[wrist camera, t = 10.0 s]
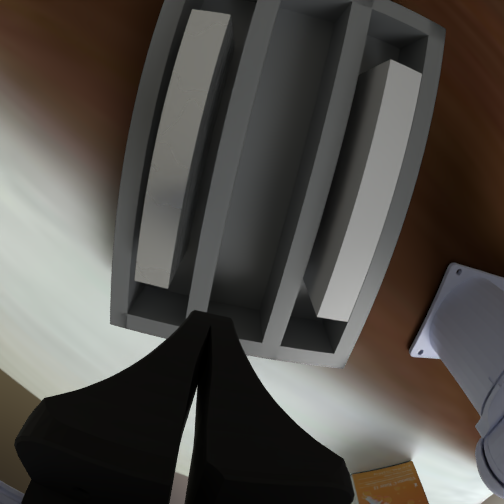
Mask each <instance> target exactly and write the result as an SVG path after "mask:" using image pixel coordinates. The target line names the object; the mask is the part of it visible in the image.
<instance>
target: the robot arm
mask: <svg viewBox="0 0 504 504" xmlns="http://www.w3.org/2000/svg"><path fill="white" fill-rule="evenodd" d="M458 269H459V271H458V272H457V270H458ZM420 350H421V351H420ZM419 351H420V352H419ZM409 354H410V355H411V356H412V357H423V358H437V359H441V360H442V361H443V363H444V364H445V366H446V367H447V368H448V370H449V371H450V372H451V374H452V375H453V377H454V378H455V379H456V381H457V382H458V384H459V385H460V387H461V388H462V389H463V391H464V392H465V394H466V395H467V397H468V398H469V400H470V401H471V403H472V404H473V406H474V407H475V409H476V410H477V412H478V413H479V415H480V416H481V419H480V420H479V422H478V423H477V424H476V426H475V427H476V428H477V430H478V432H479V433H480V435H481V438H480V439H479V441H478V443H477V446H476V451H475V455H476V462H477V468H478V472H479V474H480V477H481V479H482V480H483V482H484V483H485V485H486V486H487V487H488V488H489V490H491V491H492V492H493V493H494V494H495V495H497V496H499V497H501V498H503V499H504V278H503V277H500V276H497V275H494V274H490V273H487V272H484V271H481V270H477V269H474V268H471V267H467V266H464V265H461V264H457V263H451V264H450V265H449V266H448V268H447V270H446V272H445V275H444V277H443V280H442V282H441V284H440V287H439V289H438V291H437V294H436V296H435V298H434V300H433V303H432V305H431V307H430V309H429V311H428V313H427V316H426V318H425V320H424V322H423V324H422V326H421V328H420V330H419V332H418V334H417V336H416V338H415V340H414V342H413V343H412V345H411V347H410V349H409ZM197 385H198V388H197ZM196 388H197V402H196V418H195V436H194V446H193V453H192V459H191V466H190V472H189V478H188V485H187V491H186V498H185V504H351V503H352V502H353V500H354V496H355V493H354V489H353V485H352V481H351V478H350V474H349V472H348V469H347V467H346V464H345V461H344V459H343V458H341V457H340V456H338V455H337V454H335V453H334V452H332V451H331V450H329V449H328V448H326V447H325V446H324V445H322V444H321V443H319V442H318V441H316V440H315V439H314V438H313V437H311V436H310V435H309V434H308V433H307V432H305V431H304V430H303V429H302V428H301V427H300V426H299V425H297V424H296V423H295V422H294V421H293V420H292V419H291V418H290V417H289V416H288V415H287V414H286V413H285V411H284V410H283V409H282V408H281V407H280V406H279V405H278V404H277V403H276V402H275V400H274V399H273V398H272V397H271V395H270V394H269V393H268V391H267V390H266V389H265V387H264V386H263V384H262V383H261V381H260V380H259V378H258V376H257V375H256V373H255V371H254V370H253V368H252V366H251V364H250V362H249V360H248V358H247V356H246V354H245V352H244V350H243V348H242V346H241V343H240V341H239V338H238V336H237V333H236V330H235V327H234V323H233V320H232V319H231V318H229V317H224V316H220V315H215V314H211V313H207V312H202V311H198V310H194V311H192V312H191V313H190V314H189V316H188V317H187V318H186V320H185V321H184V322H183V323H182V324H181V325H180V326H179V328H178V329H177V330H176V331H175V332H174V333H173V334H171V335H170V336H169V337H168V338H167V339H166V340H165V341H164V342H163V343H162V344H160V345H159V346H158V347H157V348H156V349H154V350H153V351H152V352H151V353H149V354H148V355H147V356H145V357H144V358H142V359H141V360H139V361H138V362H136V363H135V364H133V365H132V366H130V367H128V368H126V369H125V370H123V371H121V372H119V373H117V374H115V375H113V376H111V377H109V378H107V379H105V380H103V381H100V382H98V383H95V384H93V385H90V386H88V387H85V388H82V389H79V390H76V391H72V392H68V393H64V394H60V395H56V396H52V397H46V398H44V399H43V400H42V401H41V403H40V404H39V405H38V406H37V407H36V408H35V409H34V411H33V412H32V413H31V415H30V416H29V417H28V419H27V420H26V422H25V424H24V425H23V427H22V429H21V430H20V432H19V434H18V436H17V437H16V439H15V444H14V446H15V449H16V451H17V454H18V457H19V458H20V460H21V462H22V464H23V466H24V467H25V469H26V471H27V472H28V474H29V476H30V477H31V479H32V480H31V482H30V484H29V486H28V488H27V490H26V493H25V494H23V493H21V492H19V491H18V490H16V489H14V488H12V487H10V486H9V485H7V484H5V483H4V482H2V481H0V504H169V502H170V496H171V490H172V485H173V479H174V473H175V468H176V462H177V457H178V452H179V446H180V442H181V438H182V434H183V431H184V427H185V424H186V421H187V418H188V414H189V411H190V408H191V405H192V401H193V398H194V395H195V392H196Z"/></svg>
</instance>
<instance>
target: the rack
mask: <svg viewBox="0 0 504 504" xmlns="http://www.w3.org/2000/svg"><path fill="white" fill-rule="evenodd" d="M192 9H195V10H203V11H210V12H217V13H224V14H230V15H231V20H232V27H233V34H234V41H235V49H234V53H233V56H232V60H231V63H230V67H229V70H228V74H227V78H226V81H225V85H224V89H223V92H222V96H221V100H220V104H219V108H218V111H217V115H216V119H215V123H214V127H213V131H212V136H211V140H210V144H209V148H208V152H207V157H206V161H205V165H204V170H203V174H202V179H201V183H200V188H199V193H198V197H197V202H196V207H195V212H194V217H193V222H192V227H191V232H190V237H189V242H188V247H187V251H186V253H185V255H184V257H183V259H182V261H181V263H180V265H179V267H178V269H177V271H176V273H175V275H174V277H173V280H172V282H171V284H170V286H169V288H168V289H167V288H163V287H159V286H154V285H150V284H146V283H143V282H139V281H135V270H136V261H137V252H138V244H139V236H140V229H141V222H142V215H143V208H144V202H145V196H146V190H147V184H148V179H149V173H150V168H151V162H152V157H153V152H154V147H155V143H156V138H157V133H158V129H159V124H160V120H161V116H162V111H163V107H164V103H165V99H166V95H167V91H168V87H169V84H170V80H171V76H172V73H173V69H174V65H175V62H176V58H177V55H178V52H179V48H180V45H181V42H182V39H183V35H184V32H185V29H186V26H187V23H188V20H189V17H190V14H191V11H192ZM445 32H446V29H445V28H443V27H441V26H440V25H438V24H436V23H434V22H433V21H431V20H429V19H427V18H425V17H423V16H421V15H419V14H417V13H415V12H413V11H411V10H409V9H407V8H405V7H403V6H401V5H399V4H397V3H394V2H392V1H390V0H164V3H163V6H162V9H161V12H160V15H159V18H158V21H157V24H156V27H155V30H154V33H153V37H152V40H151V43H150V47H149V50H148V54H147V57H146V61H145V64H144V68H143V72H142V76H141V80H140V84H139V88H138V92H137V96H136V101H135V105H134V110H133V114H132V119H131V124H130V129H129V134H128V140H127V145H126V151H125V157H124V163H123V169H122V176H121V183H120V190H119V197H118V206H117V214H116V224H115V234H114V246H113V260H112V277H111V305H110V324H112V325H115V326H119V327H122V328H126V329H130V330H134V331H138V332H141V333H145V334H149V335H153V336H157V337H161V338H166V339H167V338H168V337H169V336H170V335H171V334H173V333H174V332H175V331H176V330H177V329H178V328H179V326H180V325H181V324H182V323H183V322H184V321H185V320H186V318H187V317H188V316H189V314H190V313H191V312H192V311H194V310H198V311H202V312H207V313H211V314H215V315H220V316H224V317H229V318H231V319H232V320H233V323H234V327H235V330H236V333H237V336H238V338H239V341H240V343H241V346H242V348H243V350H244V352H245V354H246V355H248V356H254V357H260V358H266V359H273V360H279V361H286V362H293V363H300V364H308V365H316V366H324V367H333V368H342V369H343V368H344V366H345V364H346V362H347V360H348V358H349V356H350V354H351V352H352V350H353V348H354V345H355V343H356V341H357V339H358V337H359V335H360V332H361V330H362V328H363V326H364V324H365V321H366V319H367V317H368V314H369V312H370V310H371V307H372V305H373V303H374V300H375V298H376V295H377V293H378V290H379V288H380V285H381V283H382V280H383V278H384V275H385V273H386V270H387V267H388V265H389V262H390V259H391V257H392V254H393V251H394V248H395V246H396V243H397V240H398V237H399V234H400V231H401V228H402V225H403V222H404V219H405V216H406V213H407V210H408V207H409V203H410V200H411V197H412V193H413V190H414V187H415V183H416V180H417V176H418V172H419V169H420V165H421V161H422V157H423V153H424V149H425V145H426V141H427V137H428V133H429V128H430V124H431V119H432V115H433V110H434V105H435V99H436V94H437V89H438V83H439V77H440V71H441V64H442V57H443V49H444V41H445Z"/></svg>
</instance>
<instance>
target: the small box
mask: <svg viewBox="0 0 504 504" xmlns="http://www.w3.org/2000/svg"><path fill="white" fill-rule="evenodd" d="M350 478H351V481H352V485H353V489H354V493H355V496H354V500H353V502H352V503H351V504H429V503H428V500H427V497H426V495H425V492H424V489H423V487H422V484H421V482H420V479H419V477H418V474H417V471H416V469H415V466H414V464H413V462H412V461H410V462H407V463H403V464H400V465H396V466H391V467H387V468H383V469H378V470H374V471H368V472H363V473H355V474H351V477H350Z"/></svg>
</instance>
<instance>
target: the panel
mask: <svg viewBox="0 0 504 504" xmlns="http://www.w3.org/2000/svg"><path fill="white" fill-rule="evenodd" d="M234 49H235V41H234V34H233V27H232V20H231V15H230V14H224V13H217V12H210V11H203V10H195V9H192V11H191V14H190V17H189V20H188V23H187V26H186V29H185V32H184V35H183V39H182V42H181V45H180V48H179V52H178V55H177V58H176V62H175V65H174V69H173V73H172V76H171V80H170V84H169V87H168V91H167V95H166V99H165V103H164V107H163V111H162V116H161V120H160V124H159V129H158V133H157V138H156V143H155V147H154V152H153V157H152V162H151V168H150V173H149V179H148V184H147V190H146V196H145V202H144V208H143V215H142V222H141V229H140V236H139V244H138V252H137V261H136V270H135V281H139V282H143V283H146V284H150V285H154V286H159V287H163V288H167V289H168V288H169V286H170V284H171V282H172V280H173V277H174V275H175V273H176V271H177V269H178V267H179V265H180V263H181V261H182V259H183V257H184V255H185V253H186V251H187V247H188V242H189V237H190V232H191V227H192V222H193V217H194V212H195V207H196V202H197V197H198V193H199V188H200V183H201V179H202V174H203V170H204V165H205V161H206V157H207V152H208V148H209V144H210V140H211V136H212V131H213V127H214V123H215V119H216V115H217V111H218V108H219V104H220V100H221V96H222V92H223V89H224V85H225V81H226V78H227V74H228V70H229V67H230V63H231V60H232V56H233V53H234Z"/></svg>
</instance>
